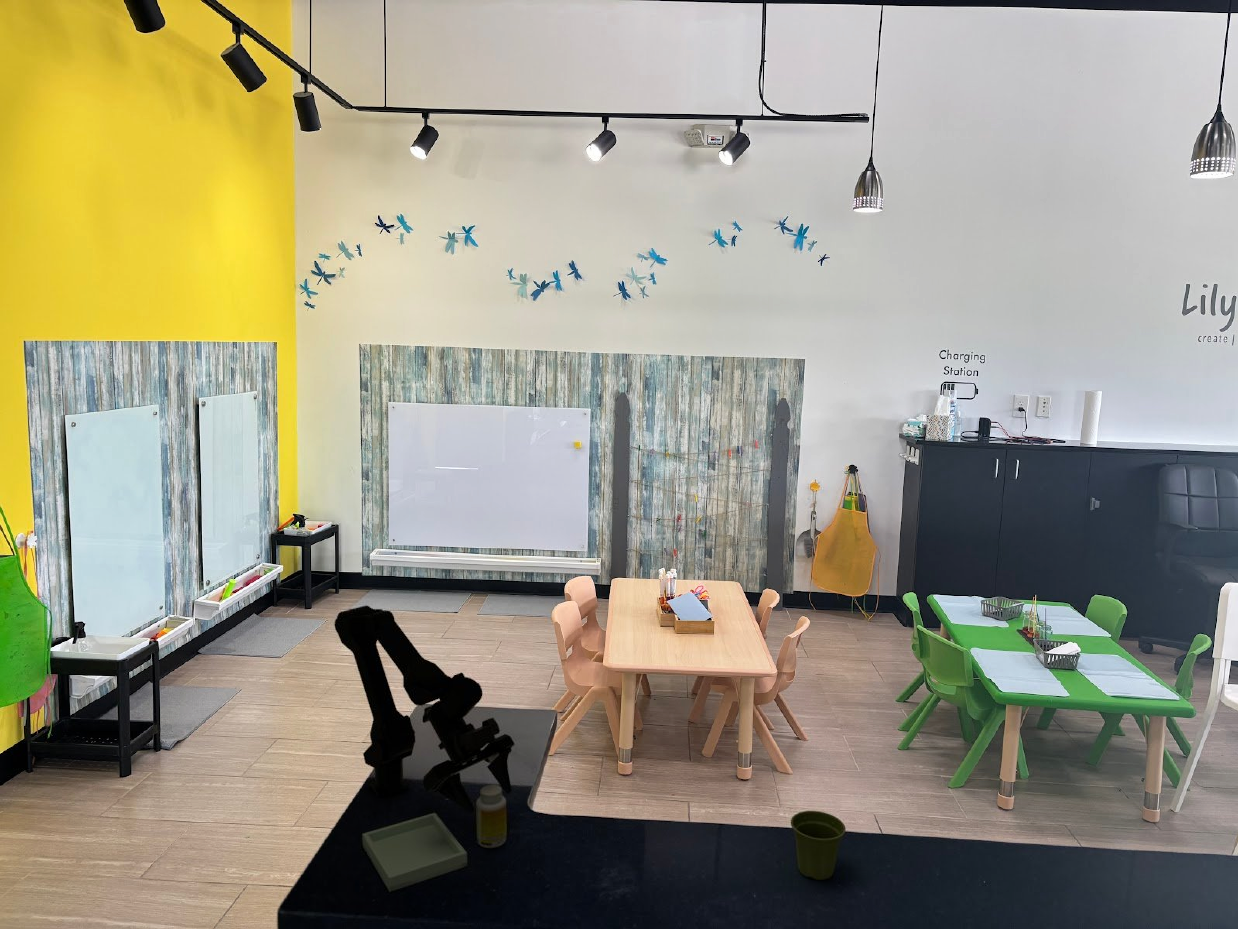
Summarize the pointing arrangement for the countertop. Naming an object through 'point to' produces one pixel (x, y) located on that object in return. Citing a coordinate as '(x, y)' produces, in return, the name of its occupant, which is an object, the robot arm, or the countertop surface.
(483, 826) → the supplement bottle
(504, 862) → the countertop surface
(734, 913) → the countertop surface
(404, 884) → the tray
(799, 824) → the plant pot
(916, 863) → the countertop surface
